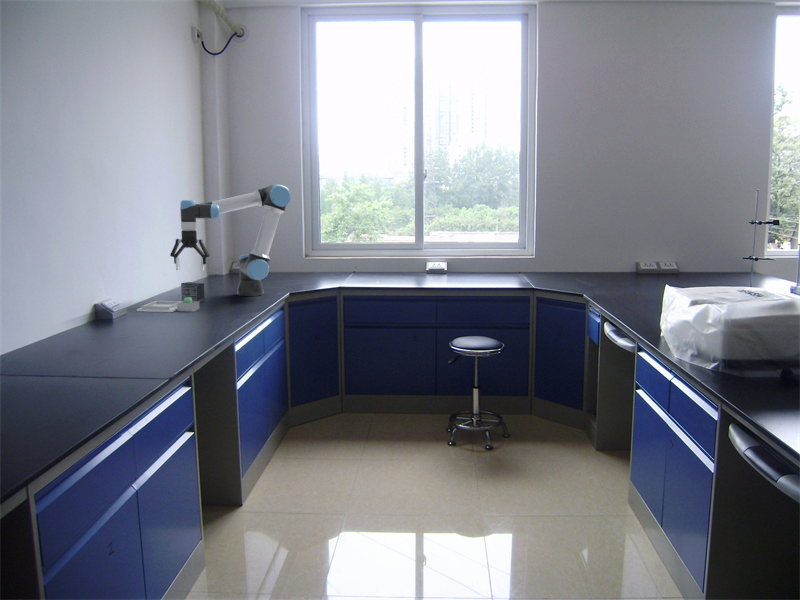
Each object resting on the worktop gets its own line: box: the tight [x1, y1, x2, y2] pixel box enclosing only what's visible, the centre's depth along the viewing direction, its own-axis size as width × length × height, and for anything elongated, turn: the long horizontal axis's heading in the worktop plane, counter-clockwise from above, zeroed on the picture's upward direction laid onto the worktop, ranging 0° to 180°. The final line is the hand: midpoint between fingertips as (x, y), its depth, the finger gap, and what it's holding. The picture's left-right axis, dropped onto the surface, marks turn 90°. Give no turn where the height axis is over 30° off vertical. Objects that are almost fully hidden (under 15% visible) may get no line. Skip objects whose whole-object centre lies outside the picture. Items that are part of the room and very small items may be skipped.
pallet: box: [136, 300, 182, 313], centre depth 313 cm, size 18×18×2 cm
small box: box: [180, 281, 206, 304], centre depth 331 cm, size 11×6×10 cm, turn 71°
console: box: [177, 300, 200, 313], centre depth 310 cm, size 8×8×4 cm
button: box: [184, 297, 192, 303], centre depth 309 cm, size 4×4×4 cm
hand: (190, 270), depth 330 cm, fingers open, 13 cm apart
